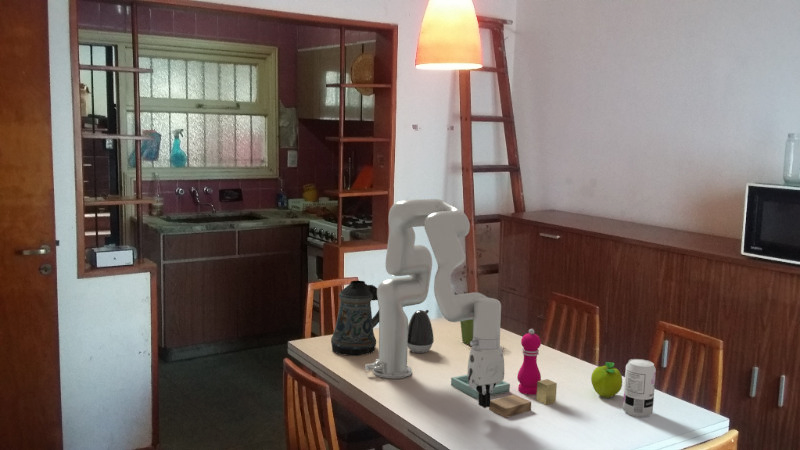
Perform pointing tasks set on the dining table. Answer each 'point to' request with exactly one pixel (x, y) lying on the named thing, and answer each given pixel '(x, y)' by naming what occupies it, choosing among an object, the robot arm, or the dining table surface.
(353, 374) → the dining table surface
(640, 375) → the supplement can
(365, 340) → the beer stein
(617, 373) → the fruit
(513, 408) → the flat wooden chunk
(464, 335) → the plant pot
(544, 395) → the block
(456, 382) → the tray
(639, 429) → the dining table surface
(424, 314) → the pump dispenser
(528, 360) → the pepper mill
